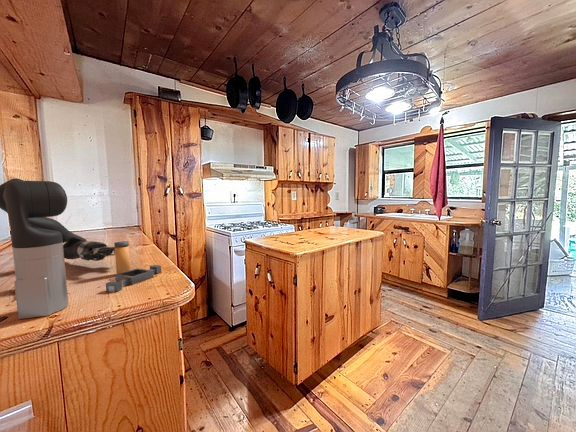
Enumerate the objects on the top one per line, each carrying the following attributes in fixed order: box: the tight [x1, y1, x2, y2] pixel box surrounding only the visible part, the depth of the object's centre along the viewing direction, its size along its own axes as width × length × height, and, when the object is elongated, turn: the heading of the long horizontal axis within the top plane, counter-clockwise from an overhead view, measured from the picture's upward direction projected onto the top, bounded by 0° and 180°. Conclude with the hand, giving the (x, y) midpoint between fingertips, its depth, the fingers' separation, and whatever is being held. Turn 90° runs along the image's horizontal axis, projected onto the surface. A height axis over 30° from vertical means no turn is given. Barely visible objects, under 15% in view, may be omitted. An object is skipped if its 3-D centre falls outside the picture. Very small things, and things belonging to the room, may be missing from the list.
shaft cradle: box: [105, 264, 162, 293], centre depth 88 cm, size 20×10×3 cm, turn 157°
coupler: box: [114, 240, 131, 275], centre depth 96 cm, size 4×4×12 cm
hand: (114, 254), depth 98 cm, fingers open, 8 cm apart
